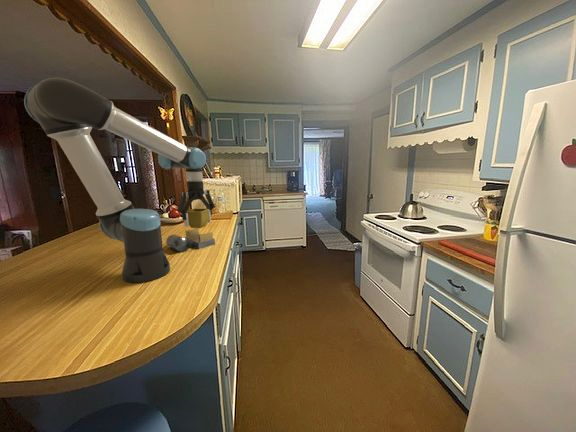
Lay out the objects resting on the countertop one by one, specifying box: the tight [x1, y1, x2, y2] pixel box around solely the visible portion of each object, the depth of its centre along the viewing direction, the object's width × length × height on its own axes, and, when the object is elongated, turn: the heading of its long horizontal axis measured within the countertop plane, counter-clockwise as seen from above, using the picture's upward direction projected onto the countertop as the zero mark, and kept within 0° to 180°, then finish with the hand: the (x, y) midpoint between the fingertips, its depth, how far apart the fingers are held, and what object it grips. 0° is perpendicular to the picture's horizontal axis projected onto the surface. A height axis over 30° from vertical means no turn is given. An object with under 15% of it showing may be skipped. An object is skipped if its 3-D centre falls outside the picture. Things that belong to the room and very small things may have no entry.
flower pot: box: [186, 208, 209, 229], centre depth 118 cm, size 9×9×9 cm
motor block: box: [165, 228, 216, 253], centre depth 116 cm, size 14×19×6 cm
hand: (198, 224), depth 118 cm, fingers closed on flower pot, 11 cm apart
